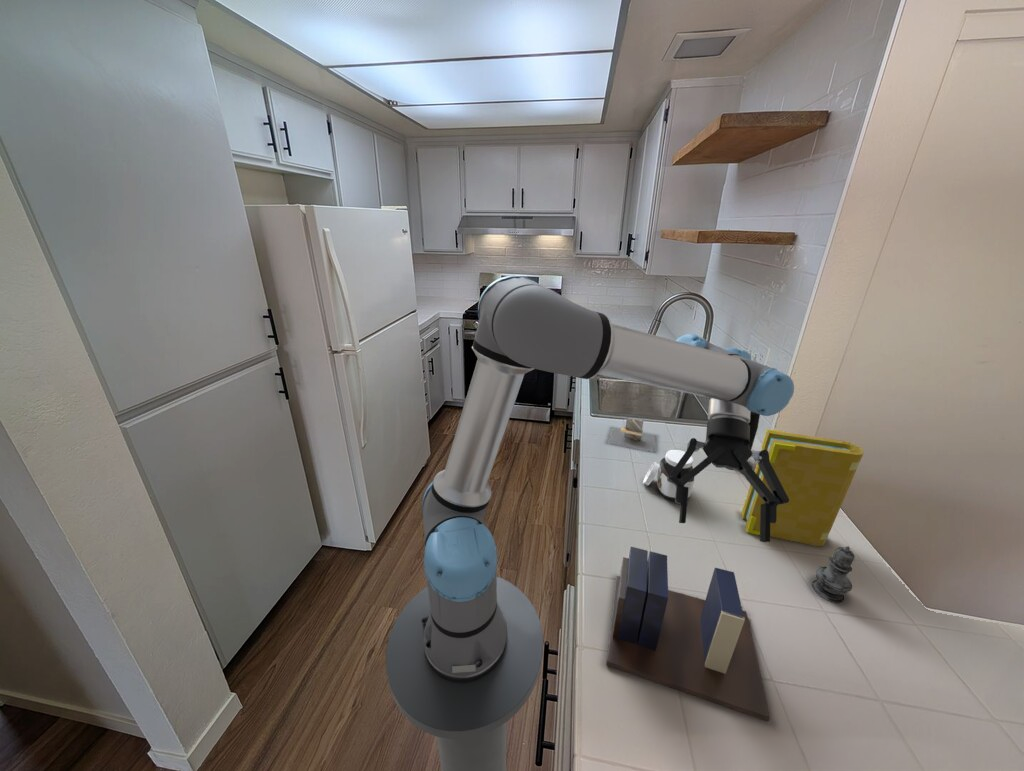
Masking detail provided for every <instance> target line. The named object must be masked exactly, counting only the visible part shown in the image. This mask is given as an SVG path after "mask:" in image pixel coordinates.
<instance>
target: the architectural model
mask: <svg viewBox="0 0 1024 771" xmlns="http://www.w3.org/2000/svg"><path fill="white" fill-rule="evenodd" d="M643 428H644V420H642V419H636V418H630V417H626V421H625V427H623V426H622V427H621V429H618V428H614V427H612V428H611V431H610V435H609V439H608V442H607V444H609V445H613V446H619V447H625V448H629V449H630V448H631V449H634V450H640V451H646V452H650V453H655V452H656V442H657V436H656V435H654V434H647V433H643V431H644V430H643Z"/></svg>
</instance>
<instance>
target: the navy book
mask: <svg viewBox="0 0 1024 771" xmlns="http://www.w3.org/2000/svg"><path fill="white" fill-rule="evenodd" d="M704 600H705V603H704V607H703V610H702V614H701V617H700V622H701V631H702V641H703V650H704V660H705V667H706V668H709V669H712V670H715V671H718V672H721V673H724V674H726V671H727V668H728V666H729V663H730V660H731V657H732V654H733V652H734V649H735V646H736V643H737V640H738V638H739V635H740V632H741V629H742V627H743V624H744V621H745V619H744V616H743V611H744V610H743V608H742V602H741V598H740V593H739V590H738V584H737V580H736V574H735V572H734V571H732V570H727V569H723V568H719V567H714V569H713V573H712V576H711V578H710V583H709V586H708V589H707V593H706V597H705V599H704Z"/></svg>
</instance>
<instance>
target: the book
mask: <svg viewBox="0 0 1024 771" xmlns="http://www.w3.org/2000/svg"><path fill="white" fill-rule="evenodd" d="M762 450H767V451H768V452H769V460H770V463H771V465H772V467H773V469H774V471H775V473H776V475H777V477H778V479H779V481H780V483H781V485H782V486H783V488H784V490H785V492H786V494H787V496H788V498H789V502H788V503H785V504H780V505H777V517H776V518H777V519H776V523H775V524H770V538H771V537H772V538H776V539H782V540H787V541H790V542H795V543H800V544H805V545H809V546H814V547H822V546H824V545H825V544H826V542H827V540H828V538H829V535H830V532H831V531H832V528H833V525H834V524H835V521H836V518H837V516H838V514H839V511H840V509H841V507H842V505H843V502H844V500H845V498H846V495H847V493H848V491H849V488H850V486H851V483H852V481H853V479H854V476H855V474H856V472H857V470H858V468H859V465H860V463H861V460H862V458H863V456H864V454H865V452H864V449H863V448H862V447H860V446H858V445H857V444H856V443H855V444H854V443H852V442H850V441H845V440H840V439H834V438H827V437H826V438H825V437H820V436H819V437H818V436H813V435H805V434H798V433H791V432H787V431H782V430H778V429H777V430H776V429H769V428H767V429H766V431H765V434H764V437H763V440H762V444H761V450H760V451H762ZM754 472H755V473H756V474H757V475H758V477H759V478H760V479H761V480H762V482H763V483H764V484H765V485H766V486H767V488H768V489H769V490H770V491H771V489H770V487H769V485H768V483H767V482H766V480H765V478H764V476H763V474H762V472H761V470H760V467H759V465H758V463H757V462H756V466H755V469H754ZM771 493H772V491H771ZM772 494H773V493H772ZM764 503H765V502H764V501H763V499H762V498H761V497H760V496H759V494H758V493H757V492H756V490H755V489H754V488H753V487H752V485H751V484H750V486H749V488H748V493H747V495H746V498H745V499H744V503H743V507H742V510H741V513H740V515H741V516H740V517H741V519H742V520H745V521H746V523H745V526H744V527H745V531H746V533H747V534H752V535H757V536H760V511H761V504H764Z"/></svg>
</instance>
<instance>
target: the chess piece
mask: <svg viewBox="0 0 1024 771" xmlns="http://www.w3.org/2000/svg"><path fill="white" fill-rule="evenodd" d="M855 558H856V556H855V553H854V552H853V551H852V550H851V548H850V546H845V547H844V546H838V547H837V548H836V549H835V550H834V552H833V555H832V556H830V557H829V558H828V564H827V566H822V565H821V566H818V567H816V568H815V571H814V572H815V578H816V579H814V580H812V581H811V582H812V583H811V587H812V589H813V590H814V591H815V593H816V594H817V595H819V596H820V597H821V598H823V599H824V600H826V601H829V602H830V603H836V604H840V603H843V602H844V601H845V599H846V598H845V594H847V593H848V592H851V591H852V590H853V588H854V587H853V583H852V581H851V580H850V578H849V577H848V574H849V573H851V572H852V571H853V568H852V565H853V563H854V560H855Z"/></svg>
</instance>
